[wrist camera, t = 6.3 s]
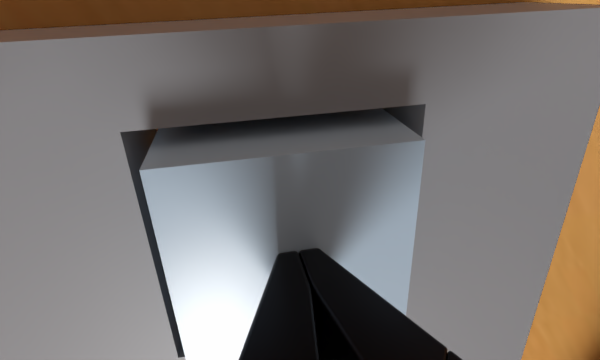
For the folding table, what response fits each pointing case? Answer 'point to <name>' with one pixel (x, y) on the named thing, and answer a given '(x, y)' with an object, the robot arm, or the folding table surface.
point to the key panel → (285, 103)
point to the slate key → (278, 212)
